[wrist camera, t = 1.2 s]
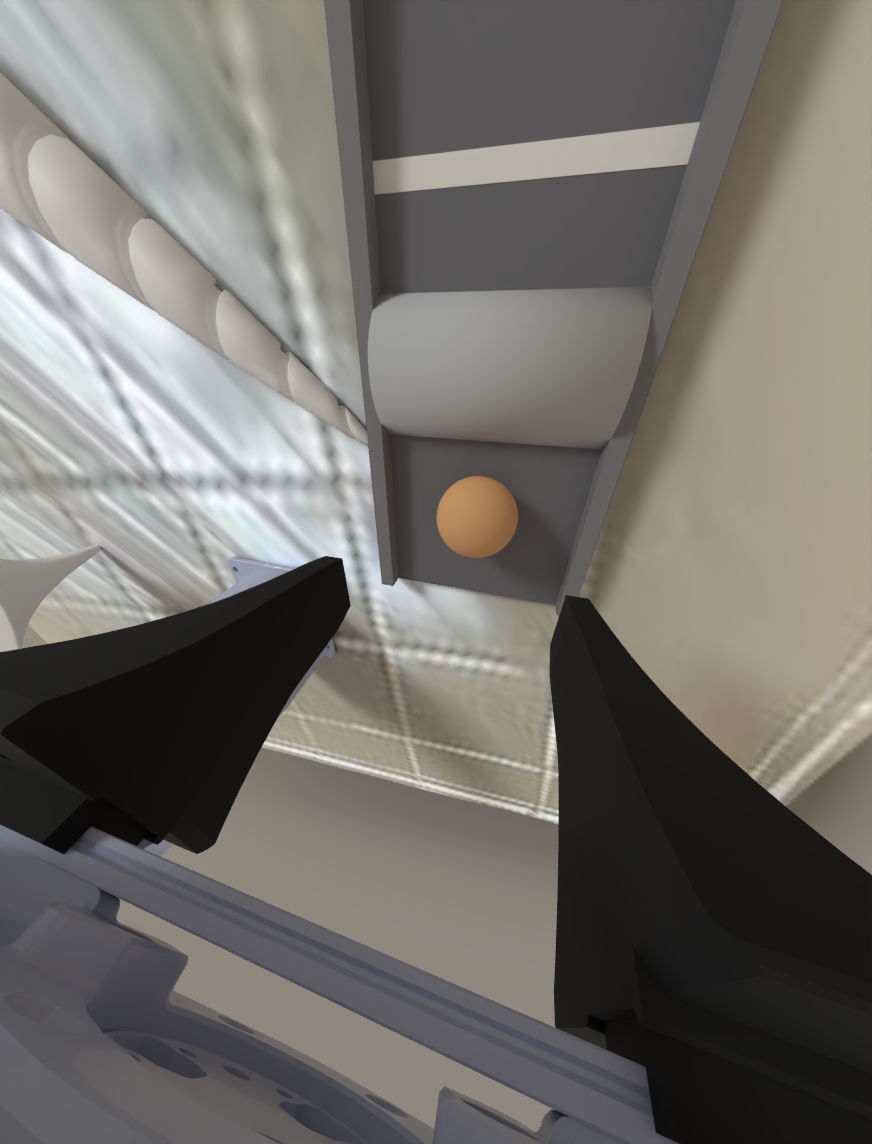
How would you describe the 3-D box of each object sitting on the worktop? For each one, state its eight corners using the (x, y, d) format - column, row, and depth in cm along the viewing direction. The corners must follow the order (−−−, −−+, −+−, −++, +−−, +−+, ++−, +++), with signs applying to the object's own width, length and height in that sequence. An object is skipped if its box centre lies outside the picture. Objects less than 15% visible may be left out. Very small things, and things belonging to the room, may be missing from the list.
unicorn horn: (351, 491, 20) (306, 522, 16) (-32, 146, 15) (-224, 74, 11) (392, 433, 17) (350, 454, 14) (-57, -8, 13) (-319, -169, 9)
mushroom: (22, 490, 28) (-244, 557, 19) (110, 502, 26) (-140, 584, 16) (92, 583, 34) (-84, 671, 24) (169, 599, 32) (10, 703, 22)
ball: (513, 540, 18) (508, 579, 15) (445, 531, 19) (426, 566, 16) (525, 469, 16) (523, 497, 12) (448, 463, 16) (426, 487, 13)
